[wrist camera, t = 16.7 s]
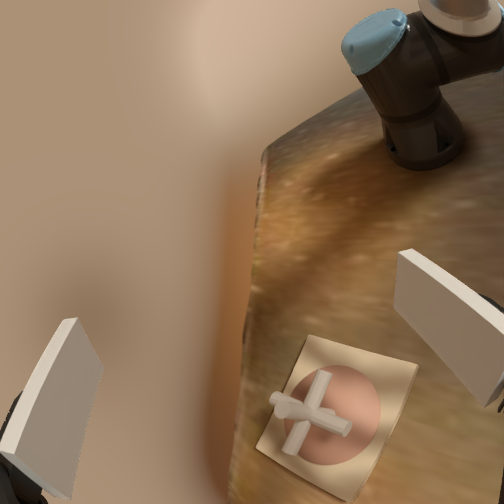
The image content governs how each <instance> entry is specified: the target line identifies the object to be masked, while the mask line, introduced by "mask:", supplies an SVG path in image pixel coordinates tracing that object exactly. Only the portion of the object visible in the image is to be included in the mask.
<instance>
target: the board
mask: <svg viewBox="0 0 504 504" xmlns="http://www.w3.org/2000/svg"><path fill="white" fill-rule="evenodd" d="M418 368H419V366H418V365H417V364H414V363H410V362H406V361H402V360H398V359H394V358H390V357H387V356H383V355H379V354H375V353H372V352H368V351H364V350H361V349H357V348H354V347H350V346H347V345H343V344H340V343H336V342H333V341H330V340H326V339H323V338H320V337H316V336H313V335H310V334H309V335H308V337H307V340H306V342H305V344H304V347H303V349H302V351H301V354H300V356H299V358H298V360H297V363H296V365H295V367H294V369H293V372H292V374H291V376H290V378H289V380H288V383H287V385H286V387H285V389H284V391H283V394H285V395H287V396H290V397H292V398H294V399H297V400H299V401H301V402H304V400H305V397H306V395H307V393H308V390H309V388H310V386H311V383H312V381H313V378H314V376H315V373H316V371H317V369H320V370H323V371H326V372H329V373H332V374H333V375H332V378H331V380H330V383H329V385H328V388H327V390H326V393H325V395H324V397H323V400H322V402H321V404H320V407H323V408H329V409H333V410H334V411H335V414H336V416H339V417H341V418H344V419H347V420H350V421H352V427H351V430H350V432H349V433H348V434H347V436H345V437H342V436H340V435H337V434H335V433H333V432H330V431H328V430H325V429H323V428H321V427H318V426H316V425H314V424H312V425H311V427H310V429H309V431H308V433H307V435H306V438H305V440H304V442H303V444H302V446H301V448H300V450H299V452H298V454H297V455H296V456H294V455H290V454H287V453H285V452H283V451H282V447H283V445H284V443H285V441H286V439H287V437H288V435H289V433H290V431H291V429H292V426H293V424H294V422H295V420H289V419H280V418H278V417H277V416H276V415H275V412H273V414H272V416H271V418H270V420H269V422H268V424H267V426H266V428H265V430H264V432H263V434H262V436H261V438H260V440H259V442H258V444H257V445H256V447H255V448H257V449H258V450H260V451H261V452H263V453H264V454H265V455H267V456H268V457H270V458H271V459H273V460H275V461H276V462H278V463H279V464H281V465H282V466H284V467H286V468H287V469H289V470H290V471H292V472H294V473H295V474H297V475H299V476H300V477H302V478H304V479H305V480H307V481H309V482H311V483H312V484H314V485H316V486H318V487H320V488H321V489H323V490H325V491H327V492H329V493H331V494H333V495H334V496H336V497H338V498H340V499H342V500H344V501H346V502H348V503H351V502H353V501H354V500H355V499H356V497H357V496H358V494H359V492H360V491H361V489H362V488H363V486H364V484H365V483H366V481H367V479H368V477H369V476H370V474H371V472H372V470H373V469H374V467H375V465H376V463H377V461H378V460H379V458H380V456H381V454H382V452H383V450H384V448H385V446H386V444H387V442H388V440H389V438H390V436H391V434H392V432H393V430H394V427H395V425H396V423H397V421H398V419H399V416H400V414H401V412H402V409H403V407H404V405H405V402H406V400H407V397H408V395H409V392H410V390H411V387H412V385H413V382H414V379H415V377H416V374H417V371H418Z"/></svg>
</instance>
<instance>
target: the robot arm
mask: <svg viewBox="0 0 504 504" xmlns="http://www.w3.org/2000/svg"><path fill="white" fill-rule="evenodd" d="M418 4H419V7H420V11H417V12H414V13H412V14H408V15H405V13H403V12H402V11H401V10H399V9H395V8H392V9H387V10H385V11H379V12H377V13H374V14H372V15H370V16H368V17H367V18H365V19H363V20H362V21H361V22H359V23H358V24H356V25H355V26H354V27H353V28H352V29H351V30H350V31H349V32H348V33H347V34H346V35H345V37H344V39H343V41H342V44H341V50H342V53H343V55H344V57H345V59H346V60H347V62H348V64H349V66H350V67H351V71H352V73H353V74H355V75H356V77H357V78H358V80H359V81H360V83H361V84H362V86H363V88H364V89H365V91H366V93H367V94H368V96H369V98H370V99H371V101H372V103H373V104H374V106H375V108H376V109H377V111H378V113H379V115H380V117H381V121H382V128H383V135H384V142H385V146H386V148H387V150H388V152H389V154H390V156H391V158H392V159H393V160H394V161H395V162H396V163H397V164H399V165H400V166H402V167H405V168H408V169H412V170H428V169H433V168H436V167H439V166H442V165H444V164H446V163H447V162H449V161H451V160H452V159H453V158H454V157H455V156H456V155H457V154H458V153H459V152H460V150H461V148H462V146H463V143H464V132H463V128H462V125H461V122H460V120H459V118H458V116H457V115H456V114H455V112H454V111H453V109H452V108H451V107H450V105H449V104H448V103H447V102H446V100H445V99H444V98H443V96H442V94H441V92H440V89H439V86H442V85H445V84H448V83H452V82H455V81H459V80H463V79H466V78H470V77H474V76H477V75H481V74H486V73H490V72H499V71H501V70H502V69H504V8H503V7H502V6H501V5H500V4H499V3H498V2H497V1H496V0H418ZM393 308H394V309H395V310H396V311H397V312H398V313H399V314H400V315H401V316H402V317H403V318H404V319H405V321H406V322H407V323H408V324H409V325H410V326H411V327H412V328H413V329H414V330H415V331H416V332H417V333H418V334H419V335H420V336H421V337H422V339H423V340H424V341H425V342H426V343H427V344H428V345H429V346H430V347H431V348H432V349H433V350H434V352H435V353H436V354H437V355H438V356H439V357H440V358H441V359H442V360H443V362H444V363H445V364H446V365H447V366H448V367H449V368H450V369H451V371H452V372H453V373H454V374H455V375H456V376H457V377H458V379H459V380H460V381H461V382H462V383H463V384H464V385H465V387H466V388H467V389H468V390H469V391H470V393H471V394H472V395H473V396H474V397H475V398H476V400H477V401H478V402H479V403H480V405H481V406H482V407H483V408H485V407H486V406H488V405H489V404H490V403H492V402H493V401H494V400H496V399H497V398H498V397H499V395H500V393H501V391H502V390H503V388H504V308H503V307H500V305H499V304H497V303H496V302H495V301H493V300H492V299H491V298H488V297H486V296H483V295H481V294H477V293H475V292H474V291H473V290H471V289H470V288H469V287H467V286H466V285H465V284H463V283H462V282H460V281H459V280H458V279H456V278H455V277H453V276H452V275H450V274H449V273H448V272H446V271H445V270H443V269H442V268H440V267H439V266H437V265H436V264H435V263H433V262H432V261H430V260H429V259H427V258H426V257H424V256H423V255H421V254H420V253H418V252H416V251H415V250H413V249H408V250H404V251H400V252H398V257H397V273H396V286H395V297H394V306H393ZM103 371H104V367H103V365H102V363H101V362H100V360H99V358H98V356H97V354H96V353H95V351H94V349H93V347H92V345H91V343H90V341H89V339H88V338H87V336H86V334H85V332H84V330H83V327H82V326H81V323H80V321H79V319H78V318H71V319H64V320H63V321H62V323H61V324H60V326H59V327H58V329H57V331H56V333H55V334H54V336H53V337H52V339H51V341H50V343H49V344H48V346H47V348H46V350H45V351H44V353H43V355H42V356H41V359H40V360H39V362H38V364H37V366H36V368H35V369H34V371H33V373H32V375H31V377H30V379H29V381H28V383H27V385H26V387H25V389H24V390H23V391H22V392H21V393H20V394H19V395H18V397H17V398H16V399H15V400H14V402H13V404H12V406H11V408H10V410H9V411H10V413H8V414H7V417H6V421H4V423H3V426H2V428H1V430H0V504H48V502H47V500H46V499H45V498H44V496H42V495H41V492H42V489H44V490H45V491H46V492H48V493H49V494H50V495H52V496H54V497H58V498H63V499H67V500H71V497H72V491H73V486H74V481H75V476H76V471H77V466H78V462H79V457H80V453H81V449H82V444H83V440H84V436H85V432H86V428H87V425H88V421H89V417H90V414H91V410H92V407H93V403H94V400H95V396H96V393H97V390H98V386H99V383H100V380H101V377H102V374H103ZM503 407H504V399H503V401H502V402H501V404H500V406H499V407H498V412H499V413H500V412H501V410H502V408H503ZM503 413H504V412H503ZM498 504H504V469H503V477H502V485H501V491H500V497H499V503H498Z"/></svg>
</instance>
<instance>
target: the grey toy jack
mask: <svg viewBox="0 0 504 504" xmlns="http://www.w3.org/2000/svg"><path fill="white" fill-rule="evenodd" d="M332 375H333V374H332V373H329V372H326V371H323V370H320V369H317V371H316V373H315V376H314V378H313V381H312V383H311V386H310V388H309V390H308V393H307V395H306V397H305V400H304V402H301V401H299V400H297V399H294V398H292V397H290V396H287V395H285V394H283V393H281V392H278V391H276V392H274V393H273V394H272V395H271V397H270V400H269V401H270V404H271V405H273V406H275V408H274V412H275V415H276V416H277V417H278V418H280V419H289V420H295V422H294V424H293V426H292V429H291V431H290V433H289V435H288V437H287V439H286V441H285V443H284V445H283V447H282V451H283V452H285V453H287V454H290V455H294V456H296V455H297V454H298V452H299V450H300V448H301V446H302V444H303V442H304V440H305V438H306V435H307V433H308V431H309V429H310V427H311V425H312V424H314V425H316V426H318V427H321V428H323V429H325V430H328V431H330V432H333V433H335V434H337V435H340V436H342V437H345V436H347V434H348V433H349V432H350V430H351V427H352V421H350V420H347V419H344V418H341V417H339V416H336V414H335V411H334V410H333V409H329V408H323V407H320V404H321V402H322V400H323V397H324V395H325V393H326V390H327V388H328V385H329V383H330V380H331V378H332Z"/></svg>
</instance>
